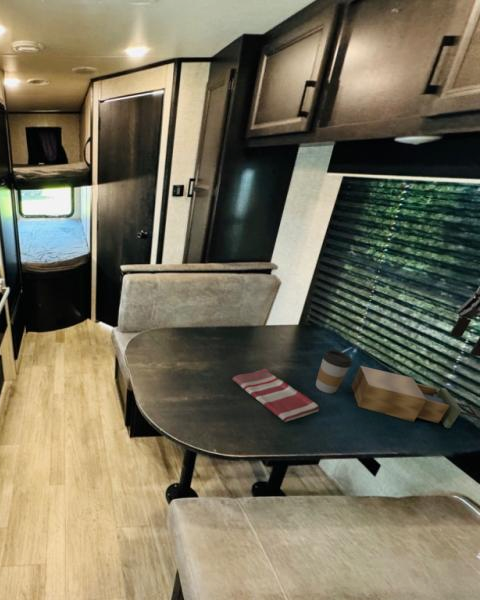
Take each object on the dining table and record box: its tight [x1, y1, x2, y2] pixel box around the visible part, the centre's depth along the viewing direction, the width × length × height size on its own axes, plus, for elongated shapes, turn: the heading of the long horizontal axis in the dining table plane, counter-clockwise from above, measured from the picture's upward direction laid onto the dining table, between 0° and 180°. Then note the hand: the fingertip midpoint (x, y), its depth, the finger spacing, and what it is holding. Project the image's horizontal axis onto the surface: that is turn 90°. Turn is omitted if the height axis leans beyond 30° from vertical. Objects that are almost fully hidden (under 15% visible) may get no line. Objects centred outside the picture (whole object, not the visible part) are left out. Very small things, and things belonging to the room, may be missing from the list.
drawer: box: [416, 383, 480, 429], centre depth 105 cm, size 20×11×8 cm, turn 61°
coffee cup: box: [315, 349, 353, 394], centre depth 117 cm, size 8×8×15 cm
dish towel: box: [232, 367, 320, 423], centre depth 116 cm, size 17×23×3 cm
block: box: [423, 394, 445, 404], centre depth 106 cm, size 5×5×5 cm
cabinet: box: [351, 365, 427, 422], centre depth 111 cm, size 15×13×10 cm
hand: (465, 345), depth 102 cm, fingers open, 13 cm apart
